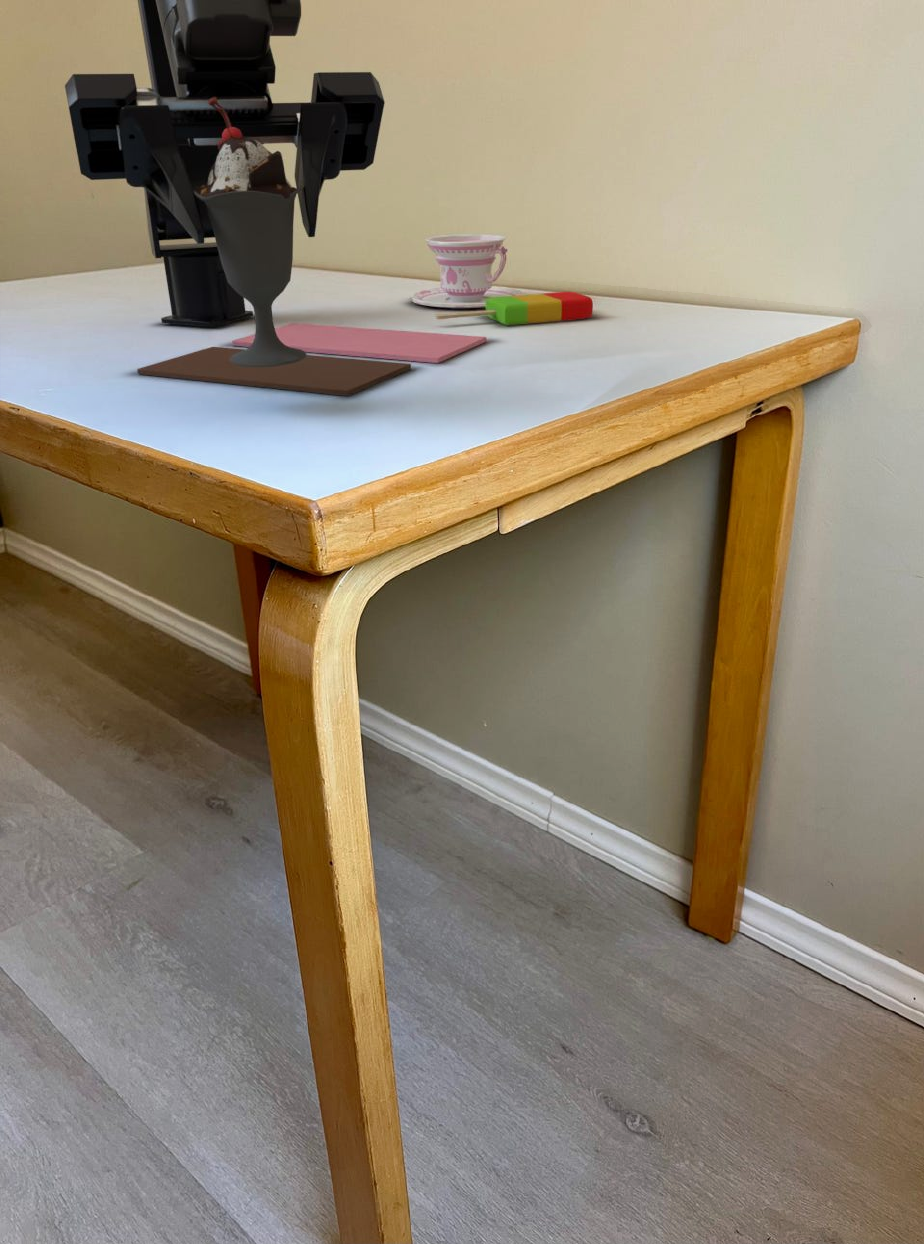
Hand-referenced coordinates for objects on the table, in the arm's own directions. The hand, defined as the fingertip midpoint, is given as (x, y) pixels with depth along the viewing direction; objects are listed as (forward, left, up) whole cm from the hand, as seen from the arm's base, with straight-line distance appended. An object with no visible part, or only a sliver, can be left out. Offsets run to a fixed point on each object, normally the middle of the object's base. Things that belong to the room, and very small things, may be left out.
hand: (257, 235), depth 58 cm
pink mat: (-7, +21, -11) cm, 25 cm away
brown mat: (-7, +10, -11) cm, 16 cm away
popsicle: (+1, +36, -11) cm, 38 cm away
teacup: (-8, +45, -11) cm, 47 cm away
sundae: (-1, +1, -8) cm, 8 cm away
